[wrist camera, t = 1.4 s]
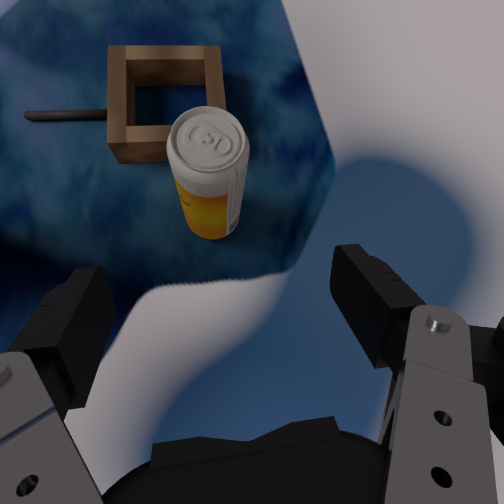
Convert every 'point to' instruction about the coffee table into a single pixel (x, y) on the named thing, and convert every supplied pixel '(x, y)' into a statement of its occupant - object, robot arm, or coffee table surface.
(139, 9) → the coffee table surface
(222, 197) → the soda can
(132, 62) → the walnut collar
